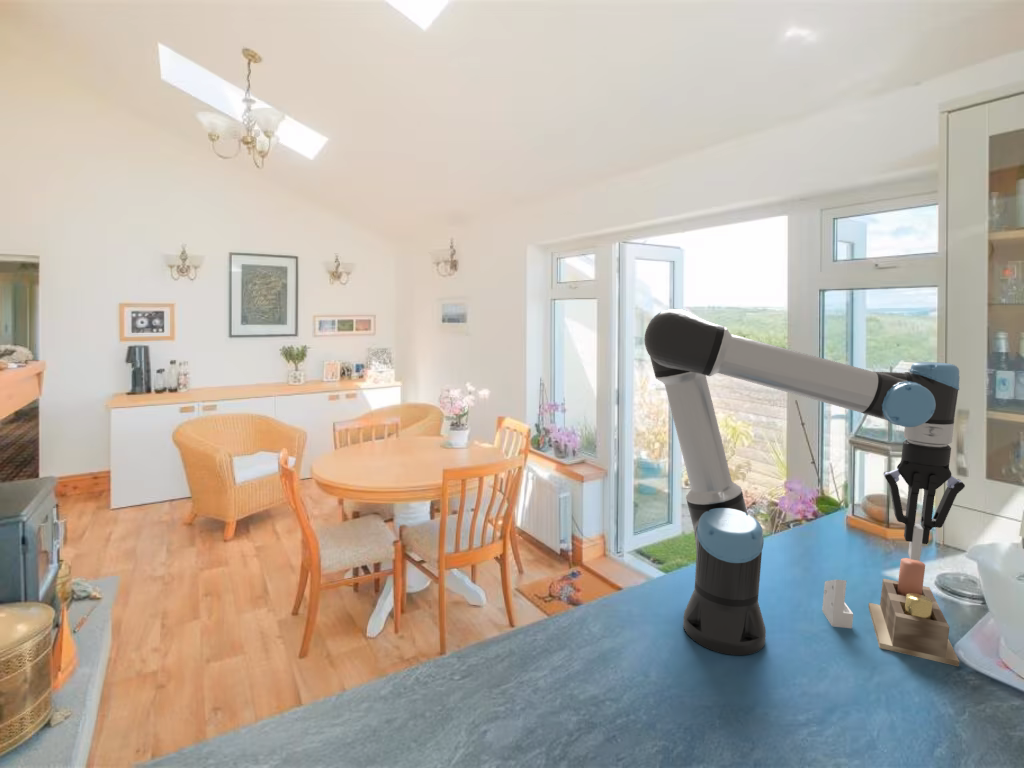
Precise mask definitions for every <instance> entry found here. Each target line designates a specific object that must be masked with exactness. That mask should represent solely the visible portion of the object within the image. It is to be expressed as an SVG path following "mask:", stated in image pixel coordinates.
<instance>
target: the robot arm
mask: <svg viewBox="0 0 1024 768" xmlns="http://www.w3.org/2000/svg"><path fill="white" fill-rule="evenodd" d="M644 345H645V350H646V352H647V354H648V356H649V357H650V362H651V365H652V369H653V373H654V376H655V379H656V380H658V381H659V382H661V383H663V384H664V387H665V391H666V395H667V399H668V403H669V407H670V411H671V415H672V418H673V423H674V427H675V430H676V436H677V439H678V442H679V446H680V450H681V455H682V458H683V459H682V460H683V463H684V466H685V470H686V474H687V478H688V481H689V486H690V490H689V491H688V492H687V494H686V496H685V500H686V503H687V506H688V511H689V515H690V520H691V524H692V528H693V532H694V540H695V548H696V549H695V550H696V553H695V554H696V558H695V572H694V573H695V574H694V577H695V578H694V589H693V592H692V594H691V595H690V599H689V601H688V603H687V605H686V608H685V610H684V611H683V623H682V626H683V629H685V630H684V631H686V632H687V633H686V632H685V633H686V634H687V636H688V635H689V636H690V637H691V638H692V639H691V640H693V639H694V640H695V641H696V642H695V641H694V640H693V641H694V642H695V643H696V644H698V643H699V644H698V645H700V646H702V647H704V648H706V649H709V650H710V651H711V650H712V651H714V652H717V653H720V654H725V655H733V656H746V655H752V654H754V653H757V652H759V651H760V650H762V649H763V647H764V646H765V644H766V634H767V631H766V625H765V622H764V618H763V615H762V611H761V607H760V603H759V593H760V580H761V567H762V554H763V548H764V541H765V539H764V536H763V535H764V534H763V527H762V525H761V523H760V522H759V521H758V520H757V518H755V516H753V515H749V514H748V510H747V506H746V502H745V498H744V494H743V490H742V487H741V486H740V485H738V484H736V483H735V482H733V481H732V477H731V473H730V468H729V464H728V461H727V456H726V452H725V448H724V444H723V441H722V436H721V432H720V428H719V424H718V420H717V416H716V412H715V407H714V405H713V400H712V397H711V396H712V395H711V392H710V386H709V383H708V380H707V376H708V377H712V376H714V375H716V374H720V375H724V376H728V377H731V378H734V379H737V380H741V381H746V382H750V383H754V384H757V385H759V386H762V387H763V386H764V387H768V388H771V389H775V390H777V391H782V392H784V393H785V392H786V393H789V394H792V395H797V396H800V397H804V398H807V399H811V400H813V401H817V402H821V403H825V404H829V405H832V406H836V407H839V408H843V409H847V410H850V411H853V412H857V413H862V414H864V415H866V416H870V417H875V418H876V419H877V418H878V419H882V420H884V421H887V422H889V423H890V424H893V425H895V426H900V427H904V432H903V437H904V438H905V440H904V441H902V448H901V449H902V451H901V458H900V461H899V463H898V465H897V466H896V468H895V469H893V470H890V471H888V470H885V471H884V472H883V476H884V478H885V480H886V481H887V482H888V485H889V492H890V497H891V502H892V509H893V512H894V514H893V515H894V518H895V519H896V521H897V522H899V523H902V524H904V531H903V537H904V540H905V542H909V543H908V553H907V554H908V556H909V557H908V558H910V559H912V560H918V561H921V555H922V553H921V552H922V547H923V544H924V545H927V544H928V543H929V542H930V541H929V540H930V534H931V533H930V532H931V530H933V529H934V528H938V529H939V528H943V525H944V524H945V522H946V520H947V517H948V515H949V512H950V510H951V508H952V505H953V503H954V502H955V500H956V497H957V495H958V494H959V493H960V492H961V491H963V490H964V489H965V487H966V486H965V483H964V482H963V481H961V479H959V478H958V479H957V477H954V476H953V475H952V472H951V471H952V470H950V462H951V461H950V460H951V454H952V447H951V446H950V445H951V444H952V442H953V436H954V424H955V416H956V408H957V403H958V402H957V401H958V395H959V391H960V369H959V367H958V366H957V365H955V364H952V363H947V362H935V361H933V362H932V361H918V362H917V361H916V362H913V363H912V364H911V365H910V366H911V367H910V369H909V371H905V372H903V371H902V372H894V371H893V372H891V371H890V372H889V371H871V370H868V369H864V368H861V367H856V366H853V365H851V364H845V363H842V362H837V361H833V360H831V359H827V358H822V357H819V356H816V355H815V356H814V355H812V354H807V353H803V352H800V351H797V350H792V349H789V348H784V347H783V346H782V347H781V346H778V345H774V344H769V343H766V342H762V341H759V340H754V339H752V338H747V337H745V336H744V337H743V336H741V335H740V336H739V335H737V334H732V333H731V332H729V329H728V328H727V326H725V325H720V324H715V323H714V322H710V321H707V320H705V319H703V318H700V317H699V316H697V315H695V314H693V313H692V312H690V311H688V310H687V309H683V308H669V309H665V310H663V311H660V312H658V313H657V314H656V315H654V316H653V318H652V319H650V321H649V323H648V325H647V326H646V329H645V332H644ZM899 476H901V477H902V478H903V480H904V481H905V483H906V484H907V487H908V490H907V500H906V507H905V508H906V509H905V514H904V511H903V507H902V506H903V505H902V502H901V501H902V500H901V495H900V489H899V485H898V483H897V482H899V480H900V477H899ZM945 483H946V489H945V491H944V492H943V495H942V497H941V499H940V501H939V504H938V506H937V508H936V511H935V512H934V503H935V497H936V493H937V492H936V491H937V489H939V488H940V487H941V486H943V485H944V484H945ZM920 490H923V497H922V498H923V500H922V507H921V518H920V523H921V524H920V523H916V517H917V508H918V501H919V494H920ZM933 512H934V514H933ZM689 636H688V637H689ZM690 637H689V638H690Z"/></svg>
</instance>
